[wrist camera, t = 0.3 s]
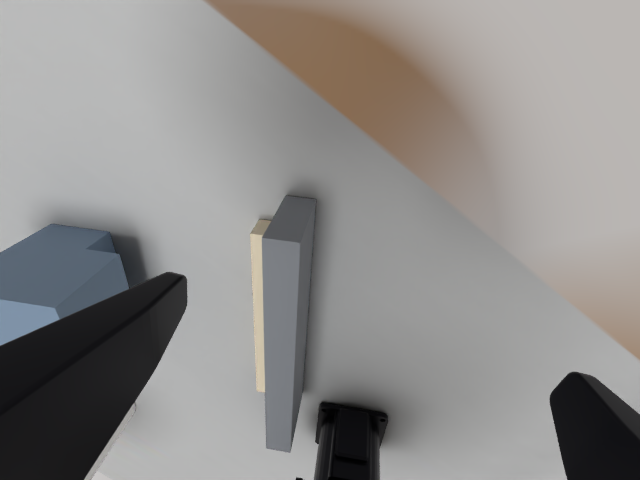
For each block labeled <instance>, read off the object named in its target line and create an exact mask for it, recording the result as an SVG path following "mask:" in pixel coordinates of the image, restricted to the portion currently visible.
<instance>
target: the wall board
mask: <svg viewBox="0 0 640 480" xmlns="http://www.w3.org/2000/svg"><path fill="white" fill-rule="evenodd" d="M315 210H316V199H310V198H302V197H294V196H285V198H284V200H283V201H282V203H281V205H280V207H279V208H278V210H277V212H276V214H275V215H274V217H273V219H272V221H268V220H261V219H259V221H258V222H257V224H256V225H255V227H254V229H253V230H252V232H251V233H250V239H251V263H252V287H253V311H254V335H255V359H256V383H257V391H258V392H264V393H265V414H266V448H267V449H273V450H278V451H284V452H289V453H290V452H291V447H292V442H293V437H294V432H295V427H296V422H297V418H298V413H299V408H300V403H301V398H302V393H303V380H304V366H305V352H306V337H307V323H308V309H309V295H310V281H311V267H312V252H313V238H314V224H315Z"/></svg>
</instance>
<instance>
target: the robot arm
mask: <svg viewBox="0 0 640 480" xmlns="http://www.w3.org/2000/svg"><path fill="white" fill-rule="evenodd" d="M186 306H187V279H186V277H185V276H184V275H181V274H177V273H173V272H166V273H163V274H161V275H159V276H156V277H154V278H152V279H150V280H147V281H145V282H143V283H141V284H138V285H136V286H134V287H132V288H129V289H127V290H125V291H123V292H120V293H118V294H116V295H113V296H111V297H109V298H107V299H104V300H102V301H100V302H98V303H95V304H93V305H91V306H89V307H86V308H84V309H82V310H80V311H77V312H75V313H73V314H70V315H68V316H66V317H64V318H61V319H59V320H57V321H55V322H52V323H50V324H48V325H46V326H43V327H41V328H39V329H37V330H34V331H32V332H30V333H28V334H25V335H23V336H21V337H18V338H16V339H14V340H12V341H9V342H7V343H5V344H3V345H0V480H84V479H85V477H86V476H87V474H88V473H89V471H90V470H91V468H92V467H93V465H94V464H95V462H96V460H97V459H98V457H99V456H100V454H101V453H102V451H103V450H104V448H105V447H106V445H107V444H108V442H109V440H110V439H111V437H112V436H113V434H114V433H115V431H116V430H117V428H118V427H119V425H120V424H121V422H122V420H123V419H124V417H125V416H126V414H127V413H128V411H129V410H130V408H131V407H132V405H133V404H134V402H135V400H136V399H137V397H138V396H139V394H140V393H141V391H142V390H143V388H144V387H145V385H146V384H147V382H148V380H149V379H150V377H151V376H152V374H153V372H154V371H155V369H156V367H157V365H158V363H159V361H160V360H161V358H162V356H163V354H164V352H165V350H166V348H167V346H168V344H169V342H170V340H171V338H172V336H173V334H174V332H175V330H176V328H177V326H178V324H179V322H180V320H181V318H182V316H183V314H184V312H185V310H186ZM550 406H551V411H552V415H553V420H554V424H555V429H556V433H557V438H558V442H559V447H560V451H561V456H562V460H563V465H564V469H565V473H566V476H567V480H640V414H638V413H637V412H636V411H635V410H634V409H632V408H631V407H630V406H629V405H628V404H626V403H625V402H624V401H623V400H622V399H620V398H619V397H618V396H617V395H616V394H614V393H613V392H612V391H611V390H610V389H608V388H607V387H606V386H605V385H604V384H602V383H601V382H600V381H599V380H597V379H596V378H595V377H593V376H591V375H587V374H583V373H579V372H571V373H569V374H568V375H567V376H566V377H565V378H564V379H563V380H562V381H561V382H560V383H559V384H558V386H557V387H556V388H555V389H554V390H553V391H552V393H551V395H550ZM387 423H388V416H387V415H386V414H384V413H379V412H374V411H368V410H362V409H356V408H350V407H345V406H339V405H333V404H327V403H321V404H320V406H319V414H318V423H317V431H316V440H315V442H316V443H317V444H319V446H318V453H317V460H316V468H315V475H314V480H380V452H379V449H380V446H381V443H382V439H383V436H384V433H385V429H386V426H387ZM296 480H303V478H297V477H296Z"/></svg>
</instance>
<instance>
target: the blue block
mask: <svg viewBox="0 0 640 480" xmlns="http://www.w3.org/2000/svg"><path fill="white" fill-rule="evenodd" d="M127 289H129V286H128V283H127V279H126V276H125V272H124V268H123V265H122V261H121V258H120V254H116V253H115V249H114V246H113V242H112V239H111V235H110V232H107V231H100V230H93V229H85V228H78V227H71V226H63V225H56V224H50V225H48V226H47V227H45V228H43V229H41V230H40V231H38V232H36V233H34V234H32V235H31V236H29V237H27V238H25V239H24V240H22V241H20V242H18V243H17V244H15V245H13V246H11V247H10V248H8V249H6V250H4V251H2V252H1V253H0V345H3V344H5V343H7V342H9V341H12V340H14V339H16V338H18V337H21V336H23V335H25V334H28V333H30V332H32V331H34V330H37V329H39V328H41V327H43V326H46V325H48V324H50V323H52V322H55V321H57V320H59V319H61V318H64V317H66V316H68V315H70V314H73V313H75V312H77V311H80V310H82V309H84V308H86V307H89V306H91V305H93V304H95V303H98V302H100V301H102V300H104V299H107V298H109V297H111V296H113V295H116V294H118V293H120V292H123V291H125V290H127Z"/></svg>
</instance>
